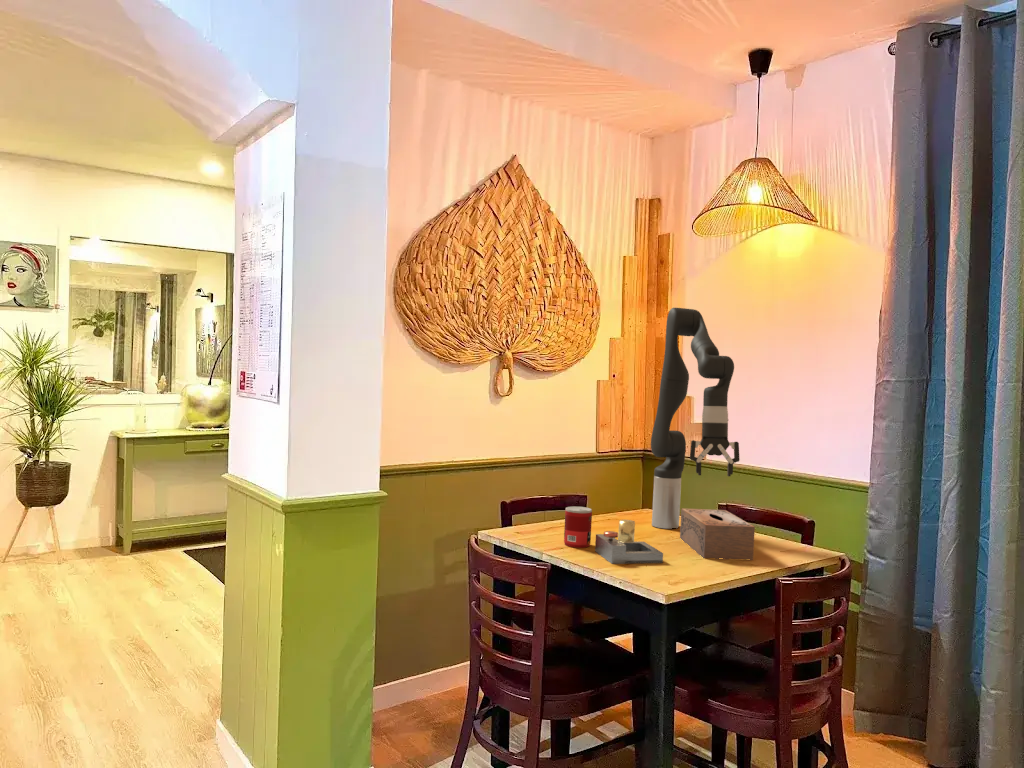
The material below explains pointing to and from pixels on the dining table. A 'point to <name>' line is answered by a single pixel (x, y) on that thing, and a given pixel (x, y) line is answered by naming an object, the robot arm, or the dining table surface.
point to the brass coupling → (626, 530)
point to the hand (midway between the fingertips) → (714, 475)
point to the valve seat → (625, 550)
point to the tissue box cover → (717, 534)
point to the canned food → (577, 527)
